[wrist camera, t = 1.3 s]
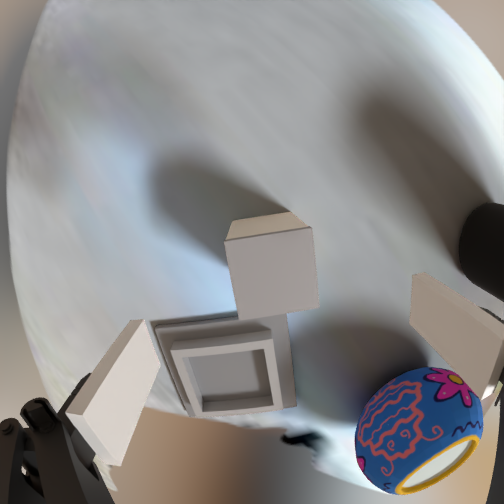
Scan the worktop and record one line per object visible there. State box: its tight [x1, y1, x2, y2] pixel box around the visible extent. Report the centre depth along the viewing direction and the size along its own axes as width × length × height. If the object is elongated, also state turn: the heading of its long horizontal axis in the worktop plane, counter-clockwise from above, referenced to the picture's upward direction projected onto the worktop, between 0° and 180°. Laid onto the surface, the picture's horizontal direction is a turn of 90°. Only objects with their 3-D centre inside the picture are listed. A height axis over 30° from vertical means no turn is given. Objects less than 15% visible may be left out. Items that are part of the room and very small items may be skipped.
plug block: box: [224, 212, 319, 321], centre depth 23 cm, size 6×6×9 cm
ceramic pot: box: [355, 367, 483, 495], centre depth 26 cm, size 18×18×15 cm
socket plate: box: [155, 314, 297, 418], centre depth 30 cm, size 14×14×3 cm
